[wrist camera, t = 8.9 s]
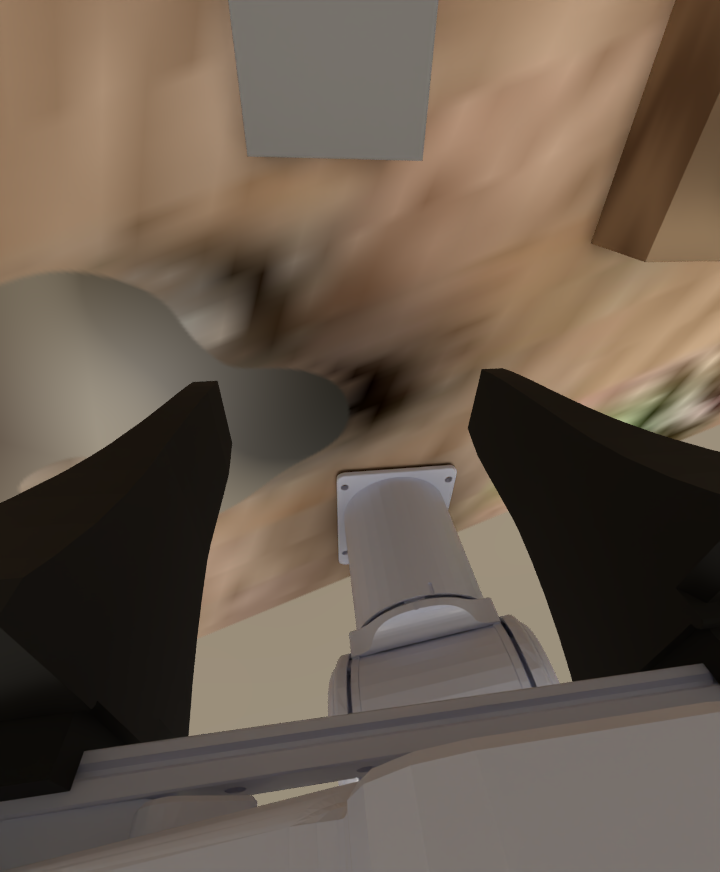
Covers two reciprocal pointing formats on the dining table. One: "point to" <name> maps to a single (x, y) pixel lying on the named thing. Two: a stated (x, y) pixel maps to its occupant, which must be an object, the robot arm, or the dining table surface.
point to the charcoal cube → (334, 76)
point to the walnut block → (672, 150)
